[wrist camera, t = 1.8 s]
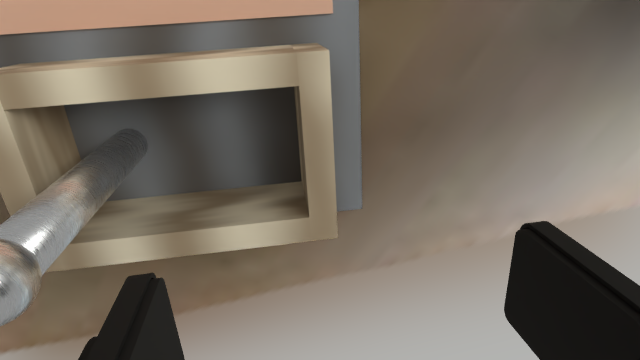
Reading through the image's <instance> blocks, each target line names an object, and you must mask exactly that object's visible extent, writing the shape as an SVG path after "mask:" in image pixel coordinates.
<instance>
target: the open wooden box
mask: <svg viewBox="0 0 640 360" xmlns="http://www.w3.org/2000/svg"><path fill="white" fill-rule="evenodd" d="M293 86H294V94H295V106H296V118H297V130H298V142H299V154H300V166H301V178H302V181H300V182H291V183H281V184H271V185H262V186H252V187H242V188H232V189H223V190H213V191H203V192H194V193H184V194H174V195H165V196H155V197H145V198H136V199H126V200H116V201H107V202H105V203H104V204H103V205H102V206H101V207H100V208H99V210H98V211H97V212H96V213H95V214H94V215H93V217H92V218H91V219H90V220H89V221H88V222H87V224H86V225H85V226H84V227H83V228H82V229H81V231H80V232H79V233H78V234H77V235H76V236H75V238H74V239H73V240H72V241H71V242H70V243H69V245H68V246H67V247H66V248H65V249H64V250H63V252H62V253H61V254H60V255H59V256H58V257H57V259H56V260H55V261H54V262H53V263H52V264H51V266H50V267H49V268H48V269H47V270H46V271H45V273H46V272H54V271H63V270H71V269H80V268H88V267H97V266H105V265H114V264H122V263H131V262H139V261H148V260H156V259H165V258H173V257H182V256H190V255H199V254H207V253H216V252H224V251H233V250H241V249H250V248H258V247H267V246H275V245H284V244H292V243H301V242H309V241H318V240H326V239H335V238H338V227H337V206H336V184H335V163H334V141H333V120H332V98H331V77H330V55H329V50H328V49H326V48H325V47H323V46H321V45H319V44H318V43H307V44H293V45H279V46H265V47H251V48H236V49H222V50H208V51H194V52H180V53H166V54H152V55H138V56H123V57H109V58H95V59H81V60H67V61H53V62H39V63H25V64H17V65H12V66H7V67H2V68H0V193H1V195H2V198H3V200H4V203H5V205H6V207H7V210H8V212H9V215H10V217H11V216H12V215H13V214H15V213H16V212H17V211H18V210H20V209H21V208H22V207H24V206H25V205H26V204H27V203H29V202H30V201H31V200H32V199H34V198H35V197H36V196H37V195H39V194H40V193H41V192H42V191H44V190H45V189H46V188H47V187H49V186H50V185H51V184H52V183H54V182H55V181H56V180H58V179H59V178H60V177H61V176H63V175H64V174H65V173H66V172H68V171H69V170H70V169H71V168H73V167H74V166H75V165H76V164H78V163H79V162H80V161H81V158H80V155H79V152H78V149H77V146H76V143H75V140H74V136H73V133H72V130H71V127H70V124H69V121H68V118H67V114H66V111H65V108H64V105H70V104H83V103H95V102H107V101H120V100H132V99H145V98H157V97H169V96H182V95H194V94H207V93H219V92H231V91H244V90H256V89H269V88H281V87H293Z"/></svg>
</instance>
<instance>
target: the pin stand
mask: <svg viewBox="0 0 640 360" xmlns="http://www.w3.org/2000/svg"><path fill="white" fill-rule="evenodd" d="M307 43H318V44H319V45H321V46H323V47H325V48H326V49H328V50H329V55H330V77H331V98H332V120H333V141H334V163H335V184H336V206H337V211H345V210H354V209H362V166H361V109H360V52H359V0H0V68H2V67H7V66H12V65H17V64H25V63H39V62H53V61H67V60H81V59H95V58H109V57H123V56H138V55H152V54H166V53H180V52H194V51H208V50H222V49H236V48H251V47H265V46H279V45H293V44H307ZM64 108H65V111H66V114H67V118H68V121H69V124H70V127H71V130H72V133H73V136H74V140H75V143H76V146H77V149H78V152H79V155H80V158H81V161H80V162H79V163H78V164H76V165H75V166H74V167H73V168H71V169H70V170H69V171H68V172H66V173H65V174H64V175H63V176H61V177H60V178H59V179H58V180H56V181H55V182H54V183H52V184H51V185H50V186H49V187H47V188H46V189H45V190H44V191H42V192H41V193H40V194H39V195H37V196H36V197H35V198H34V199H32V200H31V201H30V202H29V203H27V204H26V205H25V206H24V207H22V208H21V209H20V210H18V211H17V212H16V213H15V214H13V215H12V216H11V217H10V218H8V219H7V220H6V221H5V222H3V223H2V224H1V225H0V326H2V325H4V324H7V323H9V322H10V321H12V320H14V319H16V318H17V317H18V316H20V315H21V314H22V313H23V312H25V311H26V310H27V309H28V307H29V306H30V305H31V304H32V303H33V301H34V300H35V298H36V297H37V294H38V292H39V290H40V286H41V281H42V275H43V274H44V273H45V271H46V270H47V269H48V268H49V267H50V266H51V264H52V263H53V262H54V261H55V260H56V259H57V257H58V256H59V255H60V254H61V253H62V252H63V250H64V249H65V248H66V247H67V246H68V245H69V243H70V242H71V241H72V240H73V239H74V238H75V236H76V235H77V234H78V233H79V232H80V231H81V229H82V228H83V227H84V226H85V225H86V224H87V222H88V221H89V220H90V219H91V218H92V217H93V215H94V214H95V213H96V212H97V211H98V210H99V208H100V207H101V206H102V205H103V204H104V203H105V202H107V201H116V200H126V199H136V198H145V197H155V196H165V195H174V194H184V193H194V192H203V191H213V190H223V189H232V188H242V187H252V186H262V185H271V184H281V183H291V182H300V181H302V178H301V166H300V154H299V142H298V130H297V118H296V106H295V94H294V86H293V87H281V88H269V89H256V90H244V91H231V92H219V93H207V94H194V95H182V96H169V97H157V98H145V99H132V100H120V101H107V102H95V103H83V104H70V105H64Z"/></svg>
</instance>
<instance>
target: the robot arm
mask: <svg viewBox="0 0 640 360" xmlns="http://www.w3.org/2000/svg"><path fill="white" fill-rule="evenodd" d="M504 311H505V316H506V318H507V320H508V321H509V323H510V324H511V325H512V327H513V328H514V329H515V330H516V331H517V332H518V334H519V335H520V336H521V337H522V339H523V340H524V341H525V342H526V343H527V344H528V346H529V347H530V348H531V349H532V351H533V352H534V353H535V354H536V355H537V357H538V358H539V359H540V360H640V286H639V285H638V284H636V283H635V282H634V281H632V280H631V279H629V278H628V277H626V276H625V275H623V274H622V273H621V272H619V271H618V270H616V269H615V268H614V267H612V266H611V265H609V264H608V263H606V262H605V261H603V260H602V259H601V258H599V257H598V256H596V255H595V254H594V253H592V252H590V251H589V250H588V249H586V248H585V247H584V246H582V245H581V244H579V243H578V242H576V241H575V240H574V239H572V238H571V237H569V236H568V235H566V234H565V233H563V232H562V231H561V230H559V229H558V228H556V227H555V226H554V225H552V224H551V223H549V222H547V221H541V222H533V223H526V224H524V225H522V227H521V228H520V230H518V231H517V232H516V235H515V241H514V247H513V255H512V260H511V267H510V273H509V280H508V287H507V293H506V299H505V307H504ZM78 360H185V359H184V355H183V351H182V347H181V343H180V339H179V336H178V332H177V328H176V324H175V320H174V316H173V312H172V308H171V304H170V301H169V297H168V293H167V289H166V285H165V282H164V279H163V278H156V276H155V274H154V273H148V274H141V275H133V276H129V277H127V279H126V280H125V282H124V284H123V286H122V288H121V290H120V292H119V294H118V296H117V298H116V300H115V302H114V304H113V306H112V308H111V310H110V312H109V314H108V316H107V318H106V320H105V322H104V324H103V326H102V328H101V330H100V332H99V334H98V336H97V337H93V338H91V339H90V340H89V341H88V343H87V344H86V346H85V348H84V350H83V351H82V353H81V355H80V357H79V359H78Z"/></svg>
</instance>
